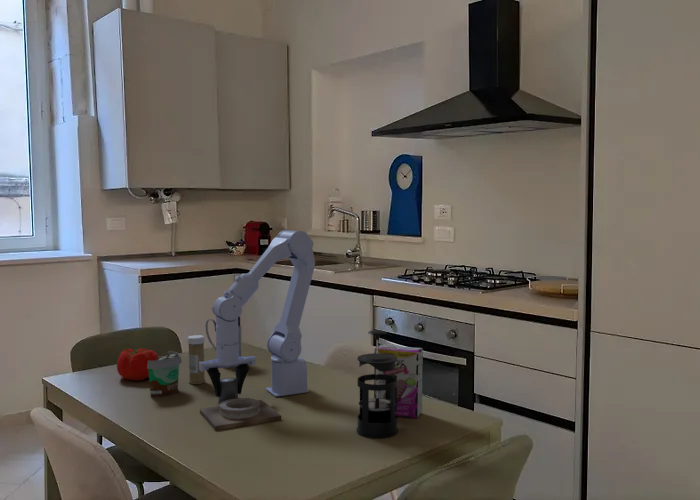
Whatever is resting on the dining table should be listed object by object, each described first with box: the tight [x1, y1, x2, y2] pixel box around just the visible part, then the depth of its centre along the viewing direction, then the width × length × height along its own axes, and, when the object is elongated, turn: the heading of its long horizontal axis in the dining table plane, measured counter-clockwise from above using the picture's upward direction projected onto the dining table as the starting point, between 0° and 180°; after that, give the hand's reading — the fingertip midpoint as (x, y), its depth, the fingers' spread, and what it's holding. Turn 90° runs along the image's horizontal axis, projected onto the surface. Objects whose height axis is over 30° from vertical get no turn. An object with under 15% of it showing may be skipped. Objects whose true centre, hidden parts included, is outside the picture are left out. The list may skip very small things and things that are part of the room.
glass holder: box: [205, 316, 242, 368], centre depth 211 cm, size 9×14×15 cm, turn 57°
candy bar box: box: [373, 344, 424, 419], centre depth 160 cm, size 11×5×16 cm, turn 71°
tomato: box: [116, 347, 160, 382], centre depth 194 cm, size 13×12×8 cm
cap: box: [218, 377, 239, 404], centre depth 171 cm, size 5×5×6 cm
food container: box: [147, 350, 183, 398], centre depth 179 cm, size 12×6×10 cm, turn 168°
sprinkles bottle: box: [187, 334, 206, 385], centre depth 188 cm, size 5×5×14 cm
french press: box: [356, 329, 399, 439], centre depth 148 cm, size 12×9×23 cm
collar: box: [199, 397, 282, 431], centre depth 159 cm, size 16×14×3 cm
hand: (228, 394), depth 171 cm, fingers closed on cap, 5 cm apart
